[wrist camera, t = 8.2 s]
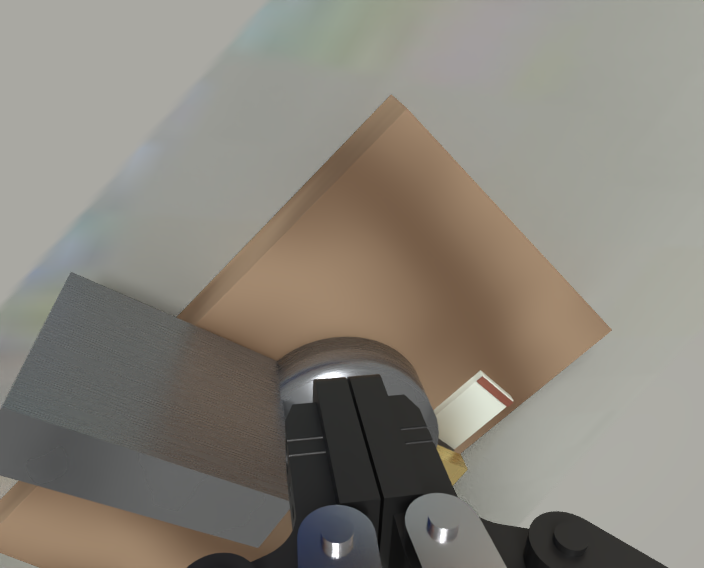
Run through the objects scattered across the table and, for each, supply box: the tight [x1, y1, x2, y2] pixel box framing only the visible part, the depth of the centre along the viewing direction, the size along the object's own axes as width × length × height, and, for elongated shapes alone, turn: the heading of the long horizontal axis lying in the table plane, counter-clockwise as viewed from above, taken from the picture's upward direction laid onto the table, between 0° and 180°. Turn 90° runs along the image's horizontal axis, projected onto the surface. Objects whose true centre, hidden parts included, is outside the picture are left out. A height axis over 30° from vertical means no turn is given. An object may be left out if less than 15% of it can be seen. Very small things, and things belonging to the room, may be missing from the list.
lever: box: [0, 272, 467, 548], centre depth 18 cm, size 6×16×6 cm, turn 55°
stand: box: [0, 95, 612, 568], centre depth 23 cm, size 22×12×2 cm, turn 134°
